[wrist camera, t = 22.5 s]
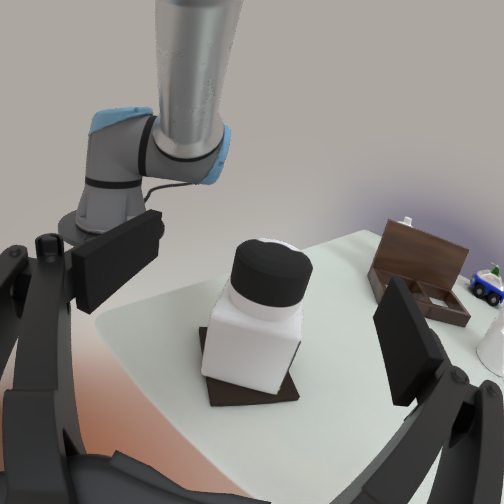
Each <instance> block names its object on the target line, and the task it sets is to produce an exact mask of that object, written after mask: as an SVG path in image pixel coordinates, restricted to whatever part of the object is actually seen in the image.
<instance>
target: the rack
mask: <svg viewBox="0 0 504 504" xmlns="http://www.w3.org/2000/svg"><path fill="white" fill-rule="evenodd" d="M468 252H469V249H467V248H465V247H463V246H460V245H458V244H455V243H453V242H450V241H448V240H445V239H443V238H440V237H438V236H435V235H432V234H430V233H427V232H424V231H422V230H419V229H416V228H413V227H411V226H408V225H405V224H402V223H399V222H396V221H393V220H391V219H388V221H387V224H386V227H385V231H384V233H383V235H382V238H381V241H380V244H379V246H378V249H377V252H376V254H375V257H374V259H373V262H372V265H371V267H370V270H369V272H368V278H369V281H370V283H371V286H372V289H373V292H374V294H375V297H376V300H377V303H378V305H379V303H380V301H381V299H382V297H383V295H384V293H385V291H386V286H385V284H387V285H388V284H389V282H390V279H391V277H392V276H393V277H396V278H399V279H403V280H404V282H405V283H406V285H407V287H408V289H409V290H410V292H411V294H412V295H413V297H414V299H415V301H416V303H417V305H418V307H419V309H420V311H421V313H422V314H423V316H424V317H426V318H430V319H434V320H438V321H442V322H446V323H450V324H454V325H458V326H462V327H465V326H466V324H467V323H468V321H469V319H470V318H471V316H470V314H469V313H468V311H467V310H466V309H465V307H464V306H463V305H462V303H461V302H460V301H459V299H458V298H457V297H456V295H455V294H454V293H453V291H452V290H451V289H452V287H453V285H454V283H455V281H456V279H457V277H458V275H459V272H460V270H461V268H462V266H463V263H464V261H465V259H466V256H467V254H468ZM428 296H429V297H433V298H436V299H440V300H443V301H445V302H446V303H447V305H448V306H449V308H447V307H443V306H440V305H436V304H433V303H432V302H431V300H430V298H429V297H428Z"/></svg>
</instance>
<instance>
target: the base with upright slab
mask: <svg viewBox="0 0 504 504" xmlns="http://www.w3.org/2000/svg"><path fill="white" fill-rule="evenodd" d="M477 355H478V357H479V359H480V360H481V362H482V363H483V364H484V365H485V366H486V367H487V368H488V369H489V370H490V371H491V372H493V373H494V374H496V375H498V376H501V377H504V305H503V307H502V309H501V311H500V313H499V315H498V316H497V317H496V318H495V319H494V321H493V323H492V324H491V326H490V328H489V329H488V331H487V333H486V334H485V336H484V338H483V339H482V341H481V342H480V344H479V345H478V347H477Z"/></svg>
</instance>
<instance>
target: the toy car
mask: <svg viewBox="0 0 504 504" xmlns="http://www.w3.org/2000/svg"><path fill="white" fill-rule="evenodd" d="M490 263H491V264H493V265H494V266H496V267H495V268H493V270H483V271H476V272H474V274H473V276H472V279H471V280H470V283H471V285H472V286H473V287H474V295H475V296H476V297H478V298H481V297H483V296H484V294H485V293H487V294H488V303H489V304H490V305H491V306H496V305H497V304H498V303H499V300H500V303H502V302H503V299H504V284H503V282H502V279H501V277H500V276H499V266H498V265H495V264H494V263H492V262H491V261H490Z"/></svg>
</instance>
